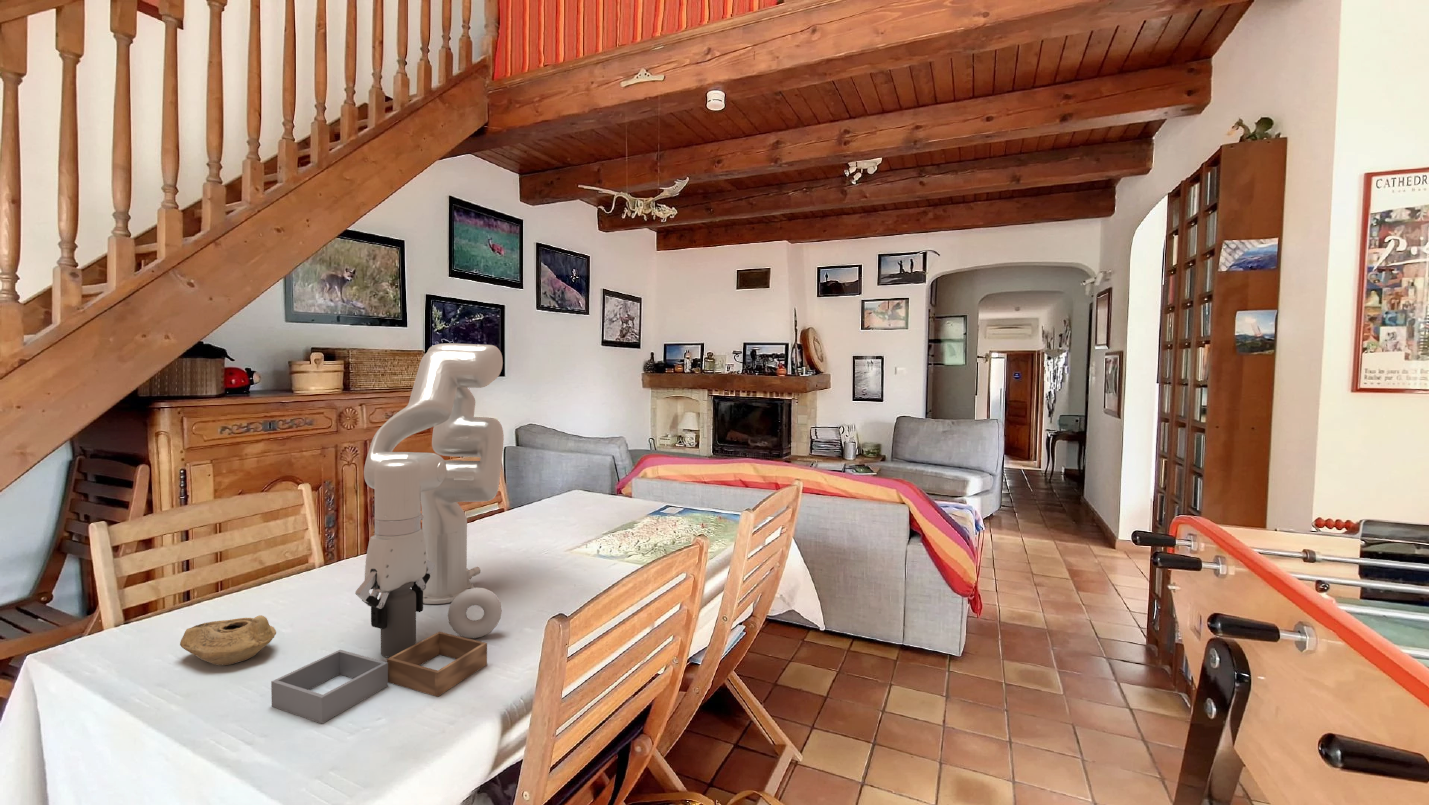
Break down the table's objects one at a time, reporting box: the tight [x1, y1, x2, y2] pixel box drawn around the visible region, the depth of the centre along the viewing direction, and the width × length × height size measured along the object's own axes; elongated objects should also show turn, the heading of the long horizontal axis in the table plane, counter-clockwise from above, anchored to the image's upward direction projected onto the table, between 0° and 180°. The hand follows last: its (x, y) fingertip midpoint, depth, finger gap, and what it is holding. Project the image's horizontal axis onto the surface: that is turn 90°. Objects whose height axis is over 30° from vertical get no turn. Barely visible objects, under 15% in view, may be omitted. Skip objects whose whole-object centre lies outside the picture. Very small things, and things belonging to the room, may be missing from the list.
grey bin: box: [270, 649, 389, 725], centre depth 93 cm, size 11×11×4 cm
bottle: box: [380, 581, 417, 658], centre depth 108 cm, size 6×6×15 cm
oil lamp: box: [179, 615, 277, 667], centre depth 103 cm, size 11×15×8 cm
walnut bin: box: [386, 631, 488, 697], centre depth 101 cm, size 11×11×4 cm
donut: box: [447, 587, 503, 639], centre depth 114 cm, size 10×4×10 cm, turn 106°
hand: (397, 618), depth 108 cm, fingers open, 7 cm apart
